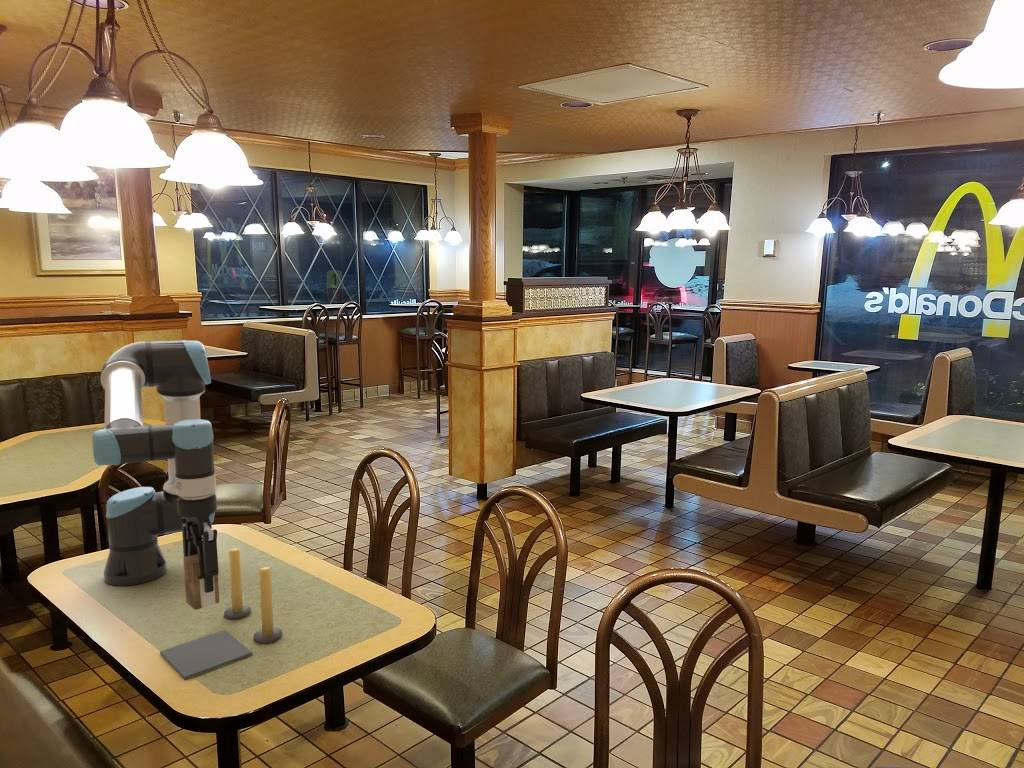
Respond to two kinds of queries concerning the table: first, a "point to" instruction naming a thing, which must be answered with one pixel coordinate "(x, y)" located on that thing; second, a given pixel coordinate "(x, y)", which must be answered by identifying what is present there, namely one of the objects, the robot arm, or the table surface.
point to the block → (195, 582)
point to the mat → (205, 654)
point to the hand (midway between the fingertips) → (202, 600)
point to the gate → (241, 611)
